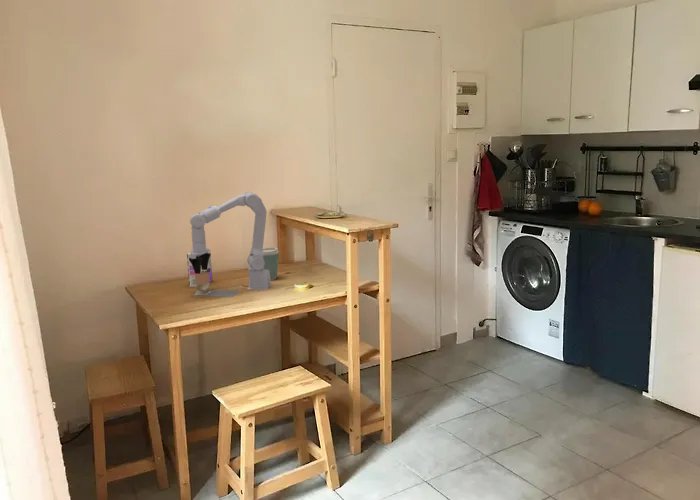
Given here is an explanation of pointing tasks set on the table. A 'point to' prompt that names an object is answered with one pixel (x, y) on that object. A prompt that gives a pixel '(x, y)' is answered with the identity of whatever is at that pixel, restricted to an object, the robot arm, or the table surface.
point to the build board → (220, 293)
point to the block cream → (202, 288)
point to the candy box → (192, 273)
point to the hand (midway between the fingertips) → (201, 271)
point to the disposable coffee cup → (271, 261)
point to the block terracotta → (202, 278)
